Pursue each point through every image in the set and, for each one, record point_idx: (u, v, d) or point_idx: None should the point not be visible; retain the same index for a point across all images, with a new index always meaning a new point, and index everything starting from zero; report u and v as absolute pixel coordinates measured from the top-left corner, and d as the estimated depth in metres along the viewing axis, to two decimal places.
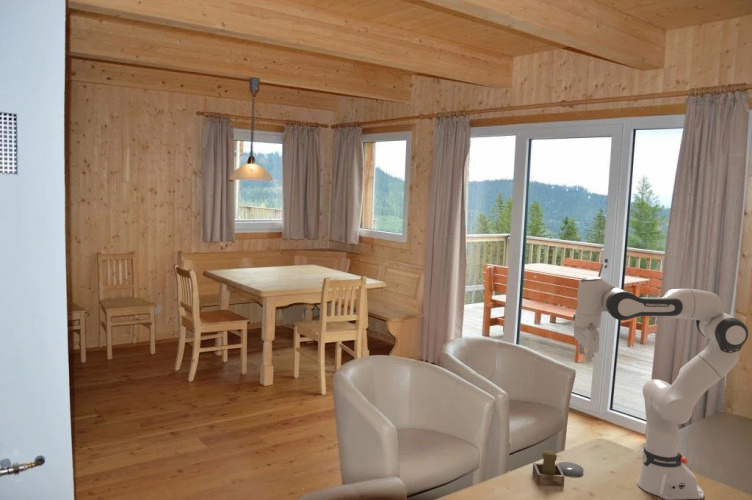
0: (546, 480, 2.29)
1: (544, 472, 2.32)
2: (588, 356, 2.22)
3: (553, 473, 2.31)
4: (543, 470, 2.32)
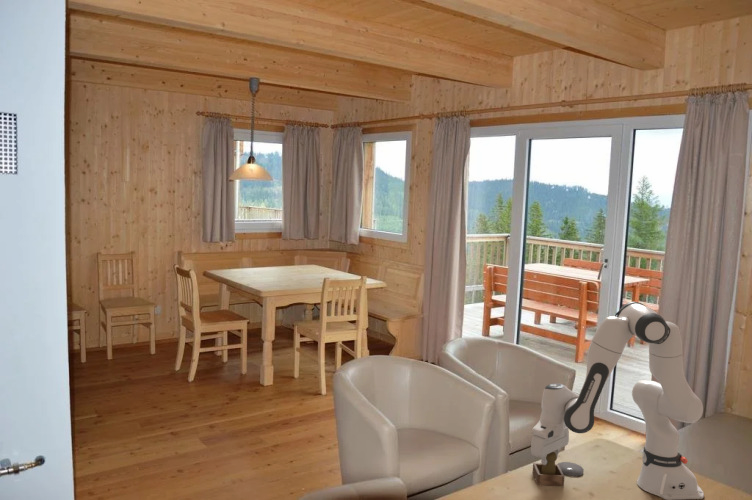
0: (546, 480, 2.29)
1: (544, 472, 2.32)
2: None
3: (553, 473, 2.31)
4: (543, 470, 2.32)
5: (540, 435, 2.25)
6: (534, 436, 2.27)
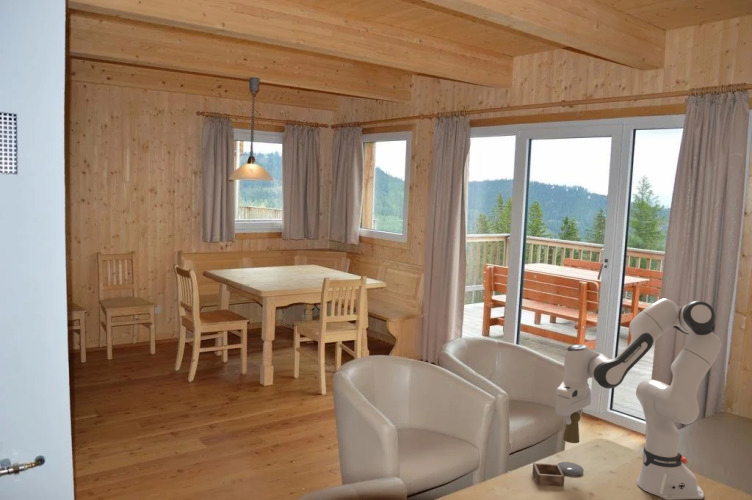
0: (546, 480, 2.29)
1: (568, 432, 2.37)
2: None
3: (577, 433, 2.37)
4: (567, 430, 2.37)
5: (564, 395, 2.30)
6: (558, 396, 2.32)
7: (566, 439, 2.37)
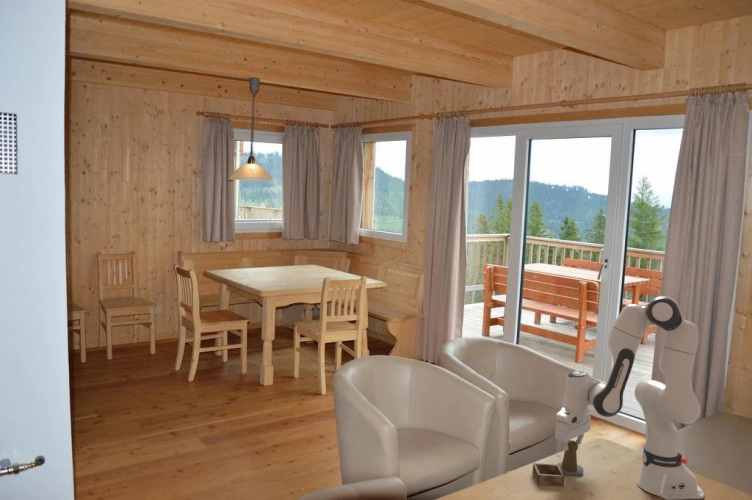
0: (546, 480, 2.29)
1: (566, 461, 2.39)
2: None
3: (575, 462, 2.39)
4: (565, 459, 2.40)
5: (564, 421, 2.33)
6: (558, 422, 2.35)
7: (564, 468, 2.40)
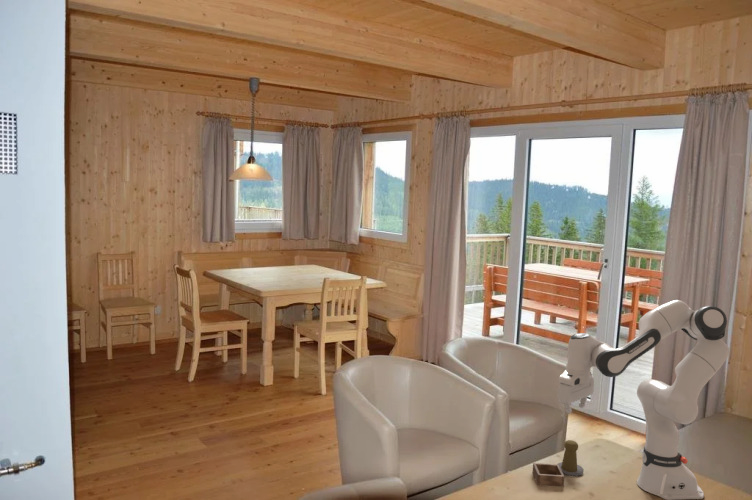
0: (546, 480, 2.29)
1: (566, 461, 2.39)
2: None
3: (575, 462, 2.39)
4: (565, 459, 2.40)
5: (567, 382, 2.31)
6: (561, 384, 2.33)
7: (564, 468, 2.40)
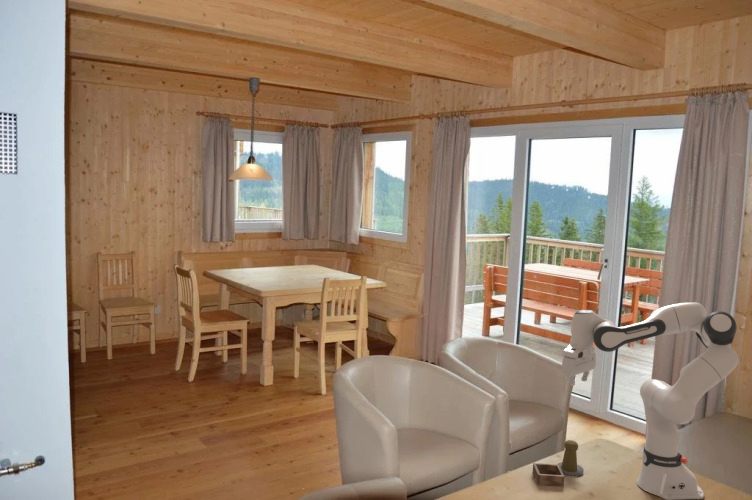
0: (546, 480, 2.29)
1: (566, 461, 2.39)
2: None
3: (575, 462, 2.39)
4: (565, 459, 2.40)
5: (570, 356, 2.43)
6: (565, 357, 2.45)
7: (564, 468, 2.40)
